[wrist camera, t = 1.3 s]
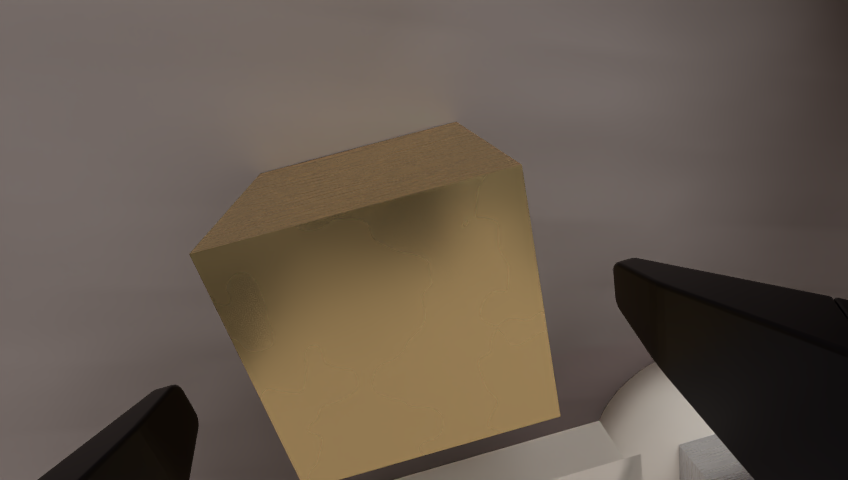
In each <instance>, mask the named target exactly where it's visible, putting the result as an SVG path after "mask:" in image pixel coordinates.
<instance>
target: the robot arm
mask: <svg viewBox="0 0 848 480" xmlns="http://www.w3.org/2000/svg"><path fill="white" fill-rule="evenodd" d="M613 274H614V286H615V298H616V302H617V305H618V307H619V309H620V311H621V312H622V314H623V315H624V317H625V318H626V320H627V321H628V323H629V324H630V326H631V327H632V329H633V330H634V332H635V333H636V335H637V336H638V338H639V339H640V340H641V342H642V343H643V345H644V346H645V348H646V349H647V351H648V352H649V354H650V355H651V357H652V358H653V360H654V361H655V362H656V364H657V365H658V367H659V368H660V369H661V370H662V372H663V373H664V374H665V375H666V377H667V378H668V379H669V380H670V381H671V383H672V384H673V385H674V386H675V387H676V388H677V390H678V391H679V392H680V393H681V394H682V395H683V397H684V398H685V399H686V400H687V401H688V403H689V404H690V405H691V406H692V407H693V408H694V410H695V411H696V412H697V413H698V414H699V415H700V417H701V418H702V419H703V420H704V421H705V423H706V424H707V425H708V426H709V427H710V428H711V430H712V431H713V432H714V433H715V434H716V435H717V437H718V438H719V439H720V440H721V441H722V443H723V444H724V445H725V446H726V447H727V448H728V450H729V451H730V452H731V453H732V454H733V456H734V457H735V458H736V459H737V460H738V461H739V463H740V464H741V465H742V466H743V467H744V468H745V470H746V471H747V472H748V473H749V474H750V476H751V477H752V478H753V479H754V480H848V300H846V299H841V298H835V299H834V300H833V298H832V297H830V296H825V295H820V294H815V293H810V292H805V291H800V290H795V289H790V288H785V287H780V286H775V285H770V284H765V283H760V282H755V281H750V280H745V279H740V278H735V277H730V276H725V275H720V274H715V273H710V272H704V271H699V270H694V269H689V268H684V267H679V266H674V265H669V264H664V263H659V262H654V261H649V260H644V259H639V258H631V259H627V260H623V261H620V262H617V263H616V264H615V265H614V268H613ZM198 426H199V424H198V417H197V414H196V412H195V411H194V409H193V407H192V405H191V404H190V402H189V400H188V398H187V397H186V395H185V393H184V391H183V390H182V389H181V387H179V386H177V385H170V386H167V387H163V388H160V389H156V390H154V391H153V392H151V393H150V394H149V395H147V396H146V397H145V398H143V399H142V400H141V401H140V402H138V403H137V404H136V405H134V406H133V407H132V408H130V409H129V410H128V411H127V412H125V413H124V414H123V415H121V416H120V417H119V418H117V419H116V420H115V421H113V422H112V423H111V424H110V425H108V426H107V427H106V428H104V429H103V430H102V431H100V432H99V433H98V434H97V435H95V436H94V437H93V438H91V439H90V440H89V441H87V442H86V443H85V444H83V445H82V446H81V447H80V448H78V449H77V450H76V451H74V452H73V453H72V454H70V455H69V456H68V457H67V458H65V459H64V460H63V461H61V462H60V463H59V464H57V465H56V466H55V467H53V468H52V469H51V470H50V471H48V472H47V473H46V474H44V475H43V476H42V477H40V478H39V479H38V480H189V478H190V473H191V467H192V461H193V456H194V450H195V444H196V438H197V433H198Z"/></svg>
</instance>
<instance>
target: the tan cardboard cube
mask: <svg viewBox="0 0 848 480" xmlns="http://www.w3.org/2000/svg"><path fill="white" fill-rule="evenodd" d="M190 257H191V259H192V261H193V263H194V265H195V267H196V269H197V271H198V273H199V275H200V277H201V279H202V281H203V283H204V285H205V287H206V289H207V291H208V293H209V295H210V297H211V299H212V301H213V303H214V306H215V308H216V310H217V312H218V314H219V316H220V318H221V320H222V322H223V324H224V326H225V328H226V330H227V332H228V334H229V336H230V338H231V340H232V342H233V344H234V346H235V348H236V350H237V352H238V354H239V357H240V359H241V361H242V363H243V365H244V367H245V369H246V371H247V373H248V375H249V377H250V379H251V381H252V383H253V385H254V387H255V389H256V391H257V393H258V395H259V397H260V399H261V401H262V403H263V405H264V408H265V410H266V412H267V414H268V416H269V418H270V420H271V422H272V424H273V426H274V428H275V430H276V432H277V434H278V436H279V438H280V440H281V442H282V444H283V446H284V448H285V450H286V452H287V454H288V457H289V459H290V461H291V463H292V465H293V467H294V469H295V471H296V473H297V475H298V477H299V479H300V480H340V479H344V478H347V477H351V476H354V475H358V474H361V473H365V472H368V471H372V470H375V469H379V468H382V467H386V466H389V465H393V464H396V463H400V462H403V461H407V460H410V459H414V458H417V457H420V456H424V455H427V454H431V453H434V452H438V451H441V450H445V449H448V448H452V447H455V446H459V445H462V444H466V443H469V442H473V441H476V440H480V439H483V438H487V437H490V436H494V435H497V434H501V433H504V432H508V431H511V430H515V429H518V428H522V427H525V426H529V425H532V424H536V423H539V422H543V421H546V420H550V419H553V418H557V417H560V410H559V404H558V397H557V391H556V384H555V378H554V371H553V365H552V358H551V352H550V345H549V339H548V332H547V326H546V320H545V313H544V307H543V300H542V294H541V287H540V281H539V274H538V268H537V261H536V255H535V248H534V242H533V235H532V229H531V222H530V216H529V209H528V203H527V196H526V190H525V183H524V177H523V170H522V165H521V164H520V163H518V162H517V161H515V160H514V159H512V158H511V157H509V156H507V155H506V154H504V153H503V152H501V151H500V150H498V149H497V148H495V147H494V146H492V145H491V144H489V143H488V142H486V141H485V140H483V139H482V138H480V137H479V136H477V135H475V134H474V133H472V132H471V131H469V130H468V129H466V128H465V127H463V126H462V125H460V124H459V123H457V122H454V123H450V124H446V125H442V126H439V127H435V128H431V129H427V130H423V131H420V132H416V133H412V134H408V135H405V136H401V137H397V138H393V139H389V140H386V141H382V142H378V143H374V144H371V145H367V146H363V147H359V148H355V149H352V150H348V151H344V152H340V153H336V154H333V155H329V156H325V157H321V158H318V159H314V160H310V161H306V162H302V163H299V164H295V165H291V166H287V167H284V168H280V169H276V170H272V171H268V172H265V173H261V174H260V175H259V176H258V177H257V178H256V179H255V180H254V181H253V183H252V184H251V185H250V186H249V187H248V188H247V189H246V190H245V192H244V193H243V194H242V195H241V196H240V197H239V198H238V200H237V201H236V202H235V203H234V204H233V205H232V206H231V207H230V209H229V210H228V211H227V212H226V213H225V214H224V215H223V216H222V218H221V219H220V220H219V221H218V222H217V223H216V224H215V226H214V227H213V228H212V229H211V230H210V231H209V232H208V233H207V235H206V236H205V237H204V238H203V239H202V240H201V241H200V243H199V244H198V245H197V246H196V247H195V248H194V249H193V250H192V252H191V253H190Z"/></svg>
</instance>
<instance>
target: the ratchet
mask: <svg viewBox="0 0 848 480" xmlns="http://www.w3.org/2000/svg"><path fill="white" fill-rule="evenodd" d="M394 480H754V479H753V478H752V477H751V476H750V474H749V473H748V472H747V471H746V470H745V468H744V467H743V466H742V465H741V464H740V463H739V461H738V460H737V459H736V458H735V457H734V456H733V454H732V453H731V452H730V451H729V450H728V448H727V447H726V446H725V445H724V444H723V443H722V441H721V440H720V439H719V438H718V437H717V435H716V434H715V433H714V432H713V431H712V430H711V428H710V427H709V426H708V425H707V424H706V423H705V421H704V420H703V419H702V418H701V417H700V415H699V414H698V413H697V412H696V411H695V410H694V408H693V407H692V406H691V405H690V404H689V403H688V401H687V400H686V399H685V398H684V397H683V395H682V394H681V393H680V392H679V391H678V390H677V388H676V387H675V386H674V385H673V384H672V383H671V381H670V380H669V379H668V378H667V377H666V375H665V374H664V373H663V372H662V370H661V369H660V368H659V367H658V365H657V364H656V362H654V363H652V364H650V365H649V366H647V367H645V368H644V369H642V370H641V371H640V372H638V373H637V374H635V375H634V376H633V377H632V378H631V379H629V380H628V381H627V382H626V383H625V384H624V385H623V386H622V387H621V388H620V389H619V390H618V391H617V392H616V393H615V395H614V396H613V397H612V399H611V400H610V401H609V403H608V404H607V406H606V408H605V409H604V411H603V413H602V415H601V417H600V420H599V421H596V422H592V423H589V424H585V425H582V426H578V427H575V428H571V429H568V430H564V431H561V432H558V433H554V434H551V435H547V436H544V437H540V438H537V439H533V440H530V441H526V442H523V443H519V444H516V445H512V446H509V447H505V448H502V449H498V450H495V451H492V452H488V453H485V454H481V455H478V456H474V457H471V458H467V459H464V460H460V461H457V462H453V463H450V464H446V465H443V466H439V467H436V468H432V469H429V470H426V471H422V472H419V473H415V474H412V475H408V476H405V477H401V478H398V479H394Z"/></svg>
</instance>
